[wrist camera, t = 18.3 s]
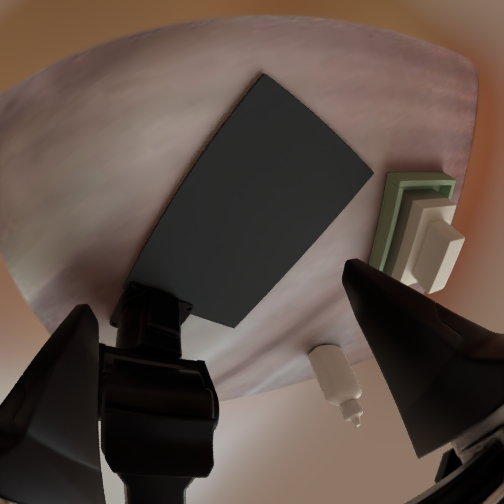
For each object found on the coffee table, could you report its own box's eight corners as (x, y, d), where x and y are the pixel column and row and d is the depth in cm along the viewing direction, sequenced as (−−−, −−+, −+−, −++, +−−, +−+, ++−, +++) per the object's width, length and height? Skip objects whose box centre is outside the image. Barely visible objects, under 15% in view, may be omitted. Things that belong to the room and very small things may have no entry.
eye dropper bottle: (317, 365, 38) (346, 435, 29) (304, 351, 35) (336, 431, 25) (343, 350, 37) (377, 419, 28) (333, 335, 34) (371, 414, 25)
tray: (416, 264, 30) (425, 274, 28) (364, 278, 29) (372, 289, 27) (443, 172, 23) (456, 179, 21) (387, 172, 22) (400, 180, 20)
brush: (412, 259, 28) (445, 296, 23) (380, 267, 28) (413, 309, 23) (433, 188, 23) (478, 221, 18) (399, 190, 22) (446, 227, 17)
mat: (233, 325, 28) (234, 328, 28) (123, 285, 22) (122, 288, 22) (371, 171, 21) (374, 173, 21) (263, 73, 15) (264, 73, 15)
